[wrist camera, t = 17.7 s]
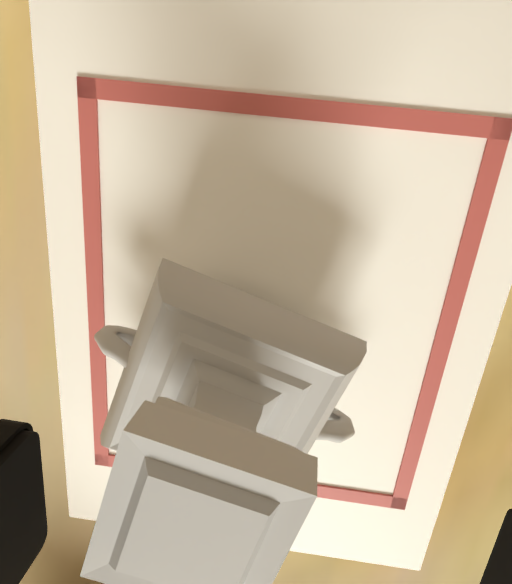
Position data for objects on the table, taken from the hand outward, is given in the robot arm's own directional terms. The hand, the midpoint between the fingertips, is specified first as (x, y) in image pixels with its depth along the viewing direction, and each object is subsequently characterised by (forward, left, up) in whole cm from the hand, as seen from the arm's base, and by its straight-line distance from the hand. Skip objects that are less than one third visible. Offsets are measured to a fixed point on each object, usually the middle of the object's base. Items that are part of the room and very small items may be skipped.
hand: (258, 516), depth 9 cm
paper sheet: (+1, 0, -8) cm, 8 cm away
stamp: (+2, +1, -8) cm, 8 cm away
